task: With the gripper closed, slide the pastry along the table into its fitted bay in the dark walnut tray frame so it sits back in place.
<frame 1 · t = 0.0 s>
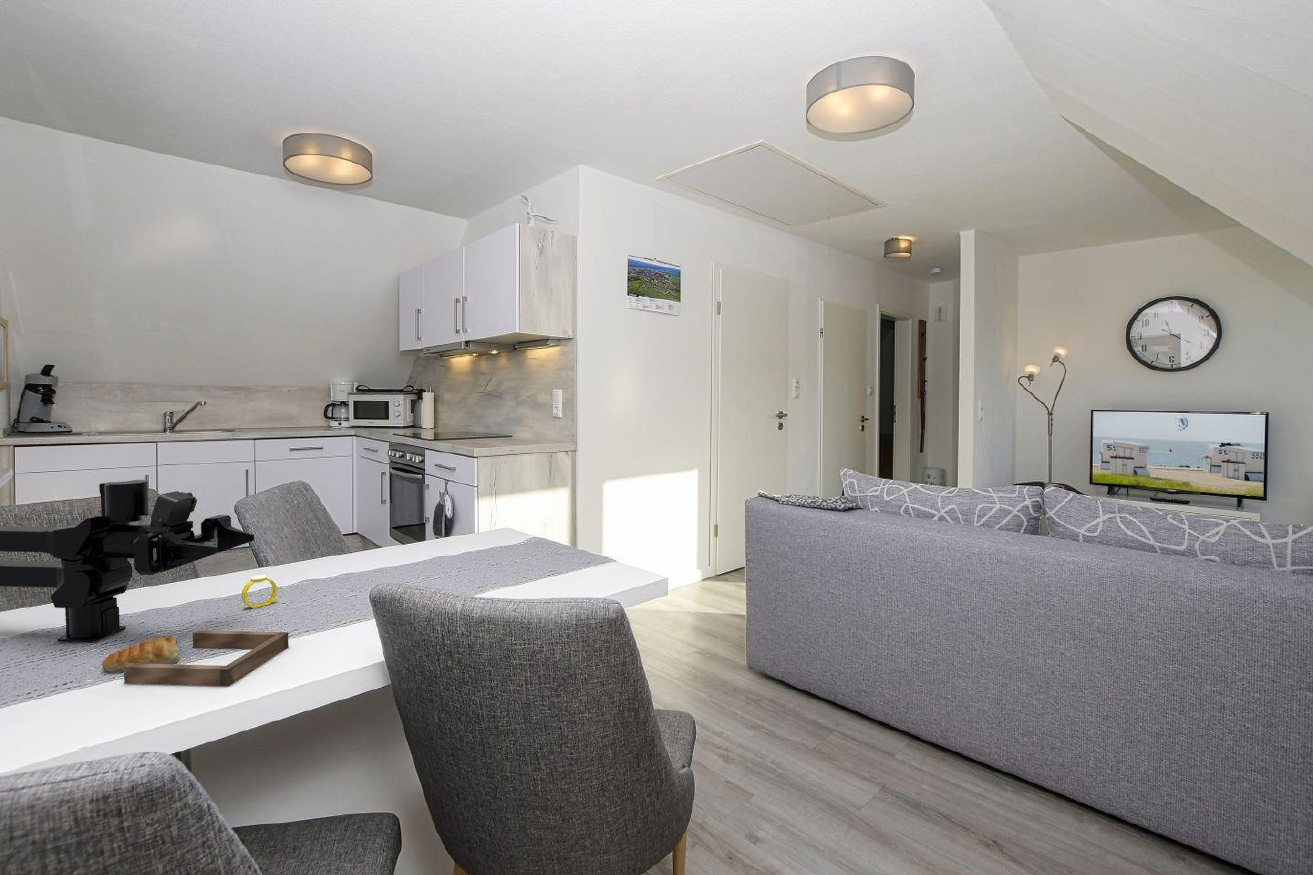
hand: (236, 543, 107), 17 cm above the table, tool horizontal, fingers open, 9 cm apart
pastry: (148, 665, 98), on the table
bay: (214, 664, 98), on the table
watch: (259, 606, 125), on the table
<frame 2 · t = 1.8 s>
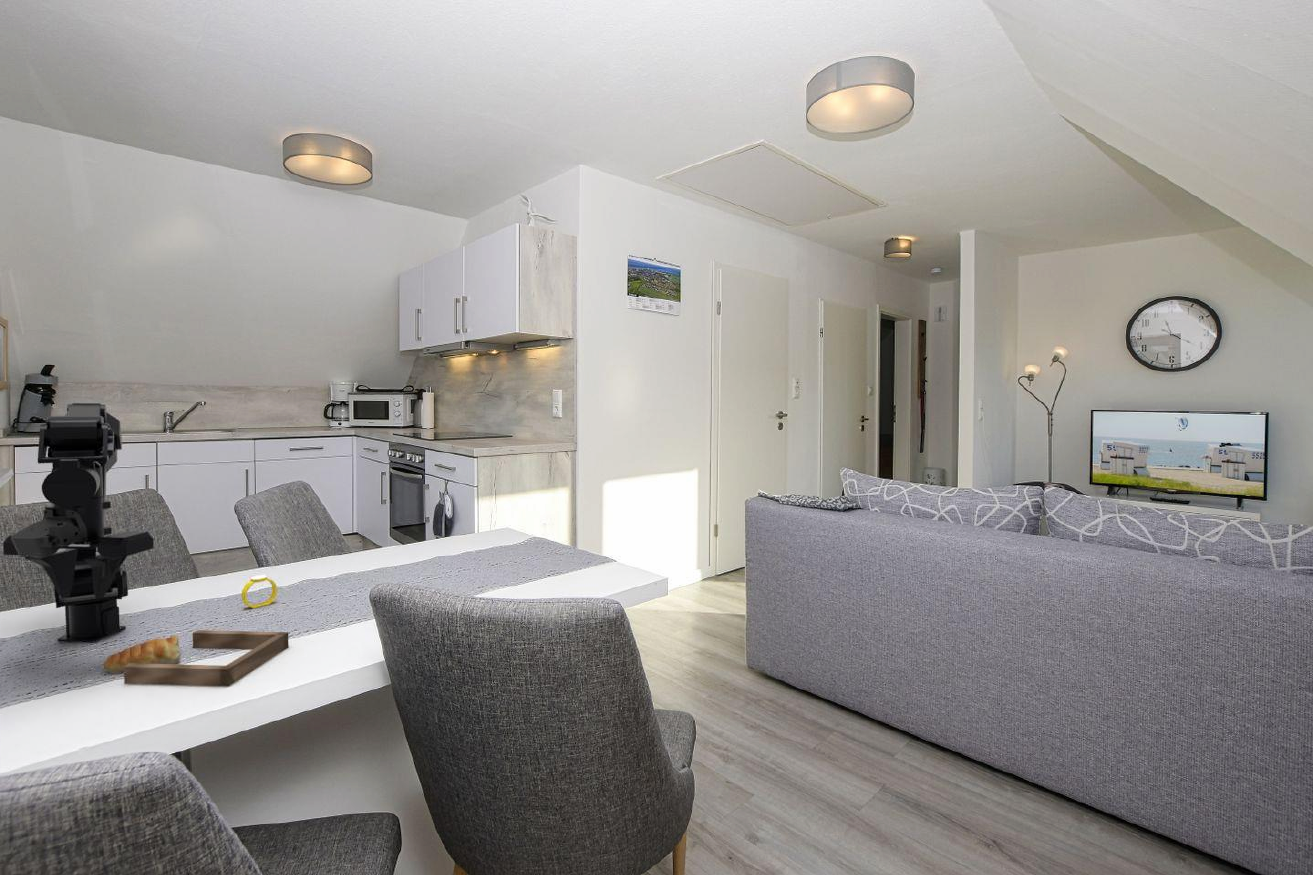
hand: (82, 597, 98), 10 cm above the table, tool pointing down, fingers open, 5 cm apart
nothing on the table moved.
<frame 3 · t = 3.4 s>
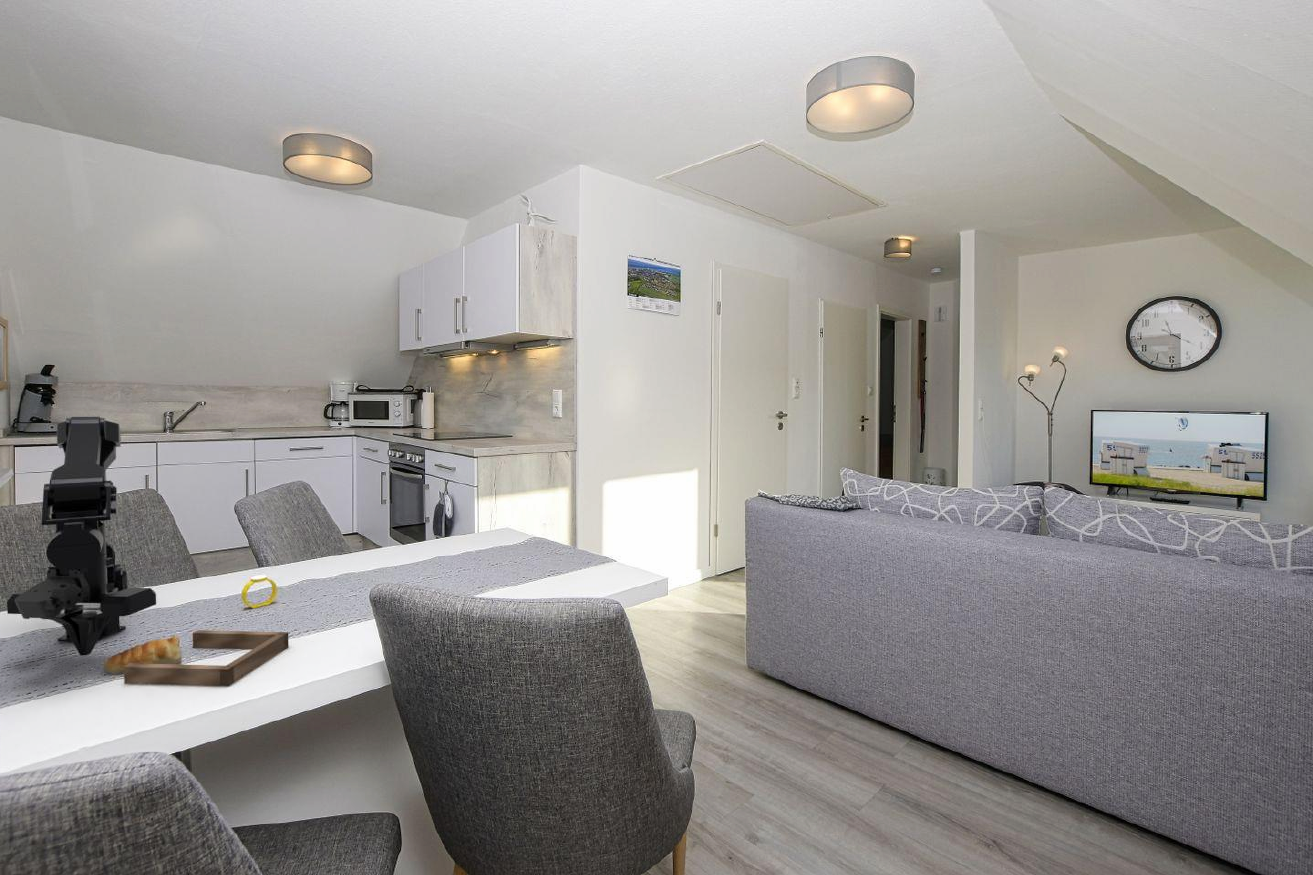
hand: (85, 654, 99), 1 cm above the table, tool pointing down, fingers closed
nothing on the table moved.
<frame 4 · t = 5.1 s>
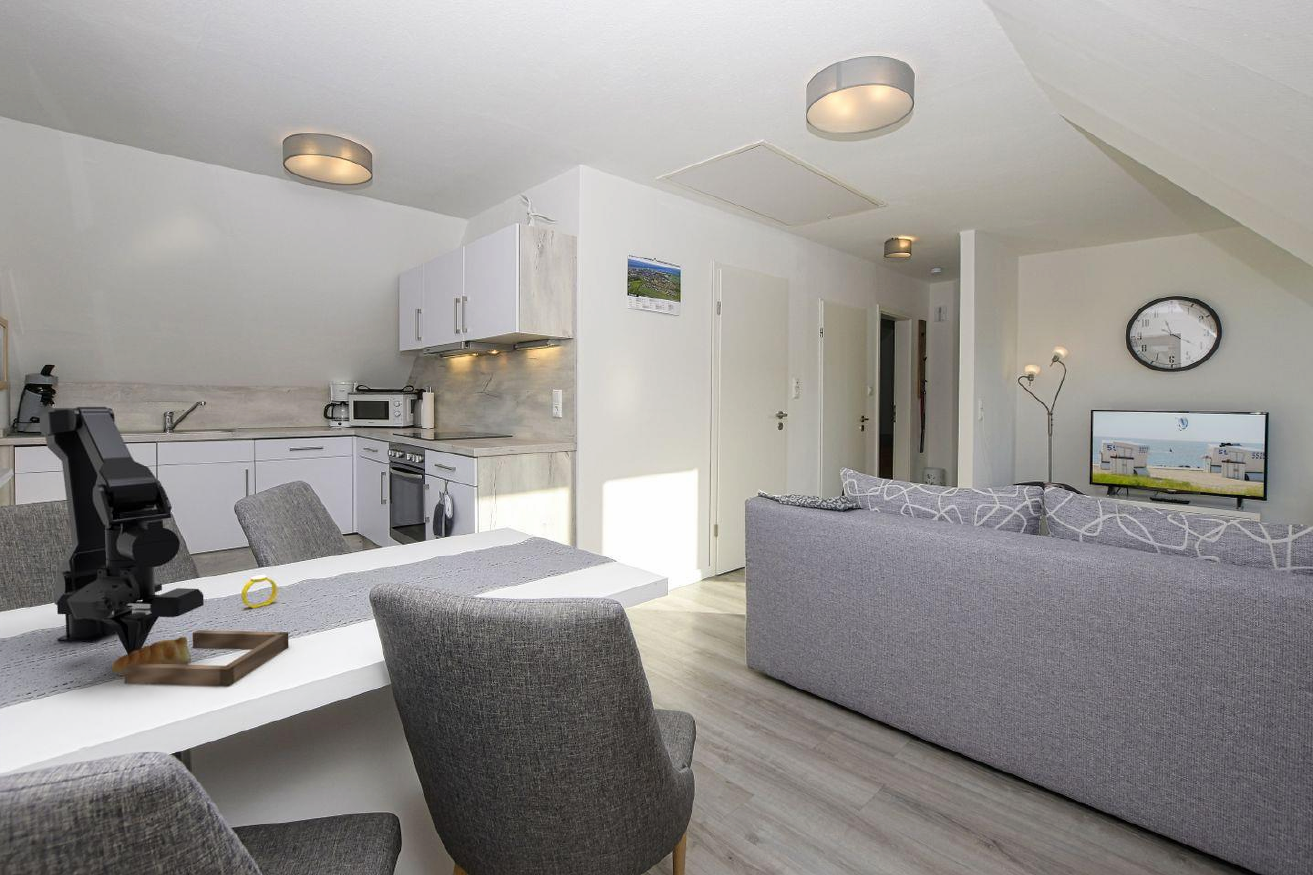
hand: (133, 655, 98), 1 cm above the table, tool pointing down, fingers closed
pastry: (158, 668, 97), on the table
everything else where it was.
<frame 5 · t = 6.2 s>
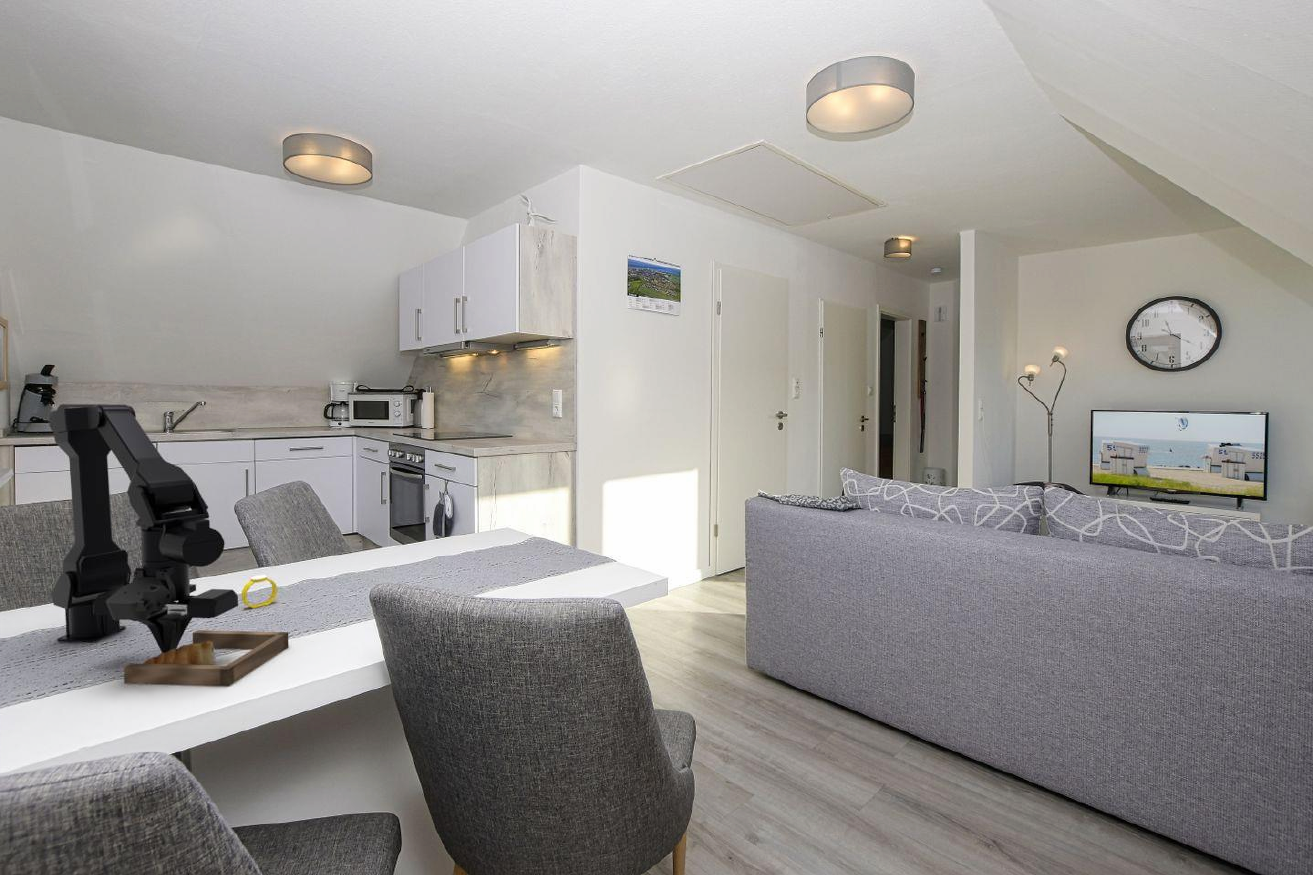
hand: (168, 655, 99), 1 cm above the table, tool pointing down, fingers closed
pastry: (184, 671, 96), on the table, touching bay, gripper
everything else where it was.
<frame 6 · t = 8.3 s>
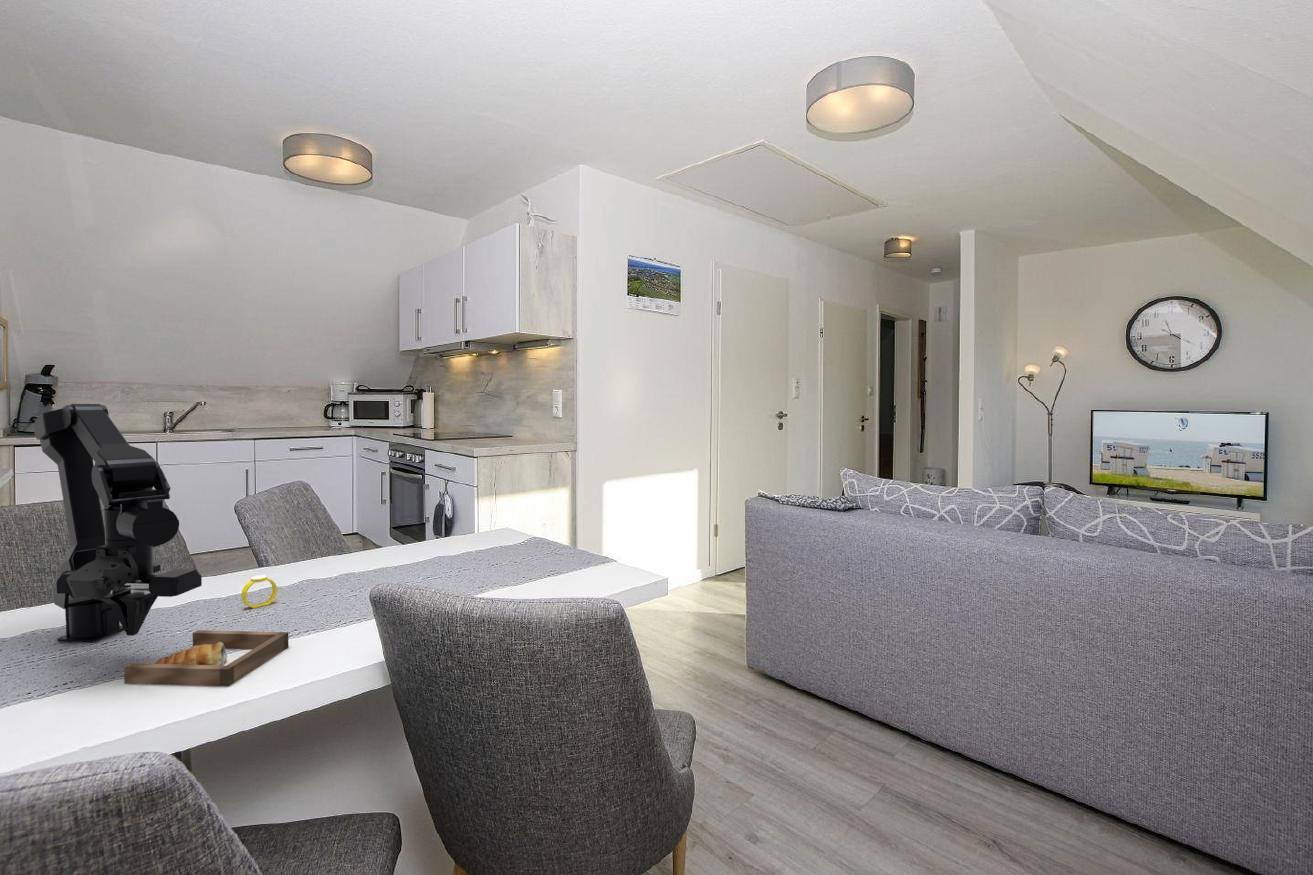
hand: (132, 634, 99), 4 cm above the table, tool pointing down, fingers closed
pastry: (194, 672, 96), on the table
everything else where it was.
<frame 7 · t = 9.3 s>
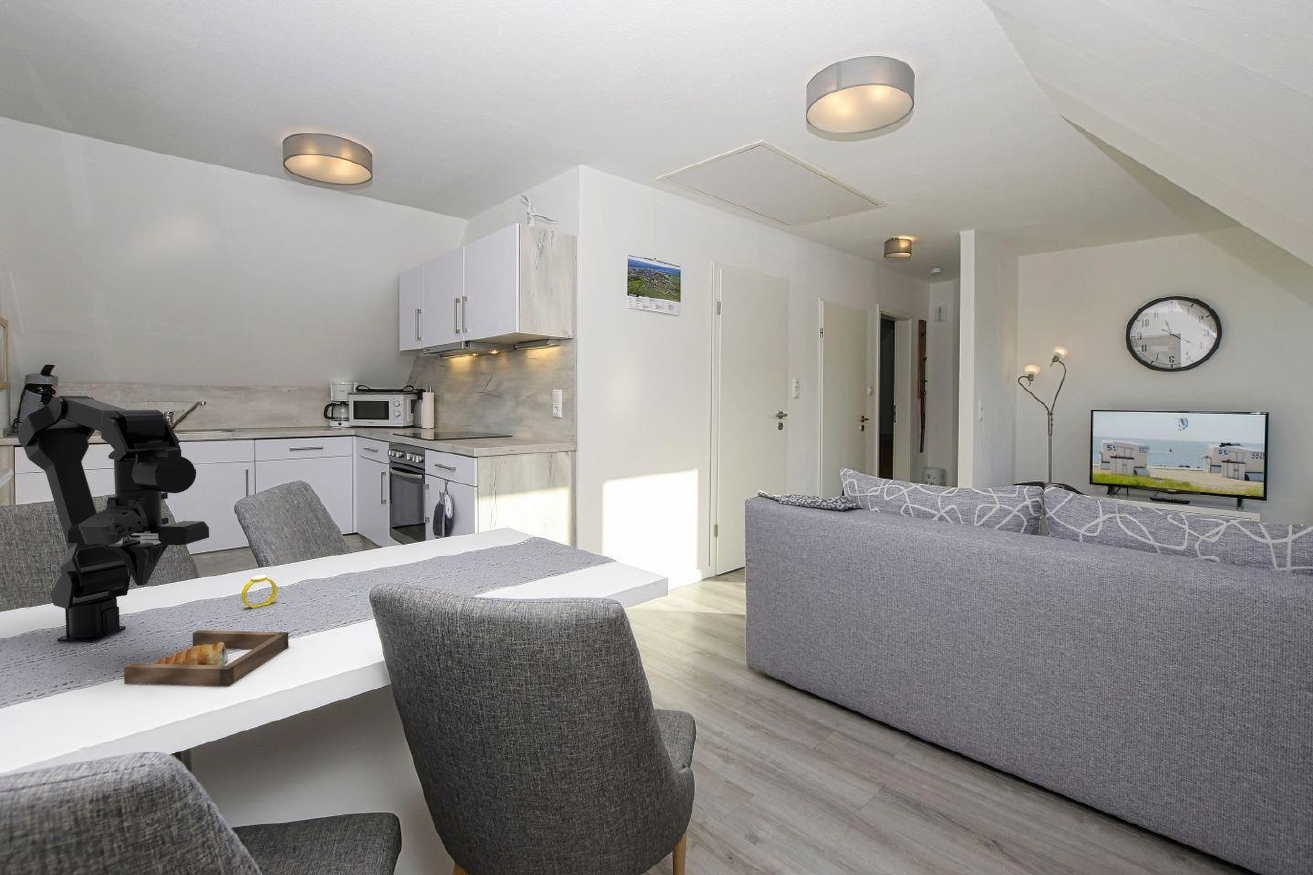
hand: (141, 584, 102), 11 cm above the table, tool pointing down, fingers closed
nothing on the table moved.
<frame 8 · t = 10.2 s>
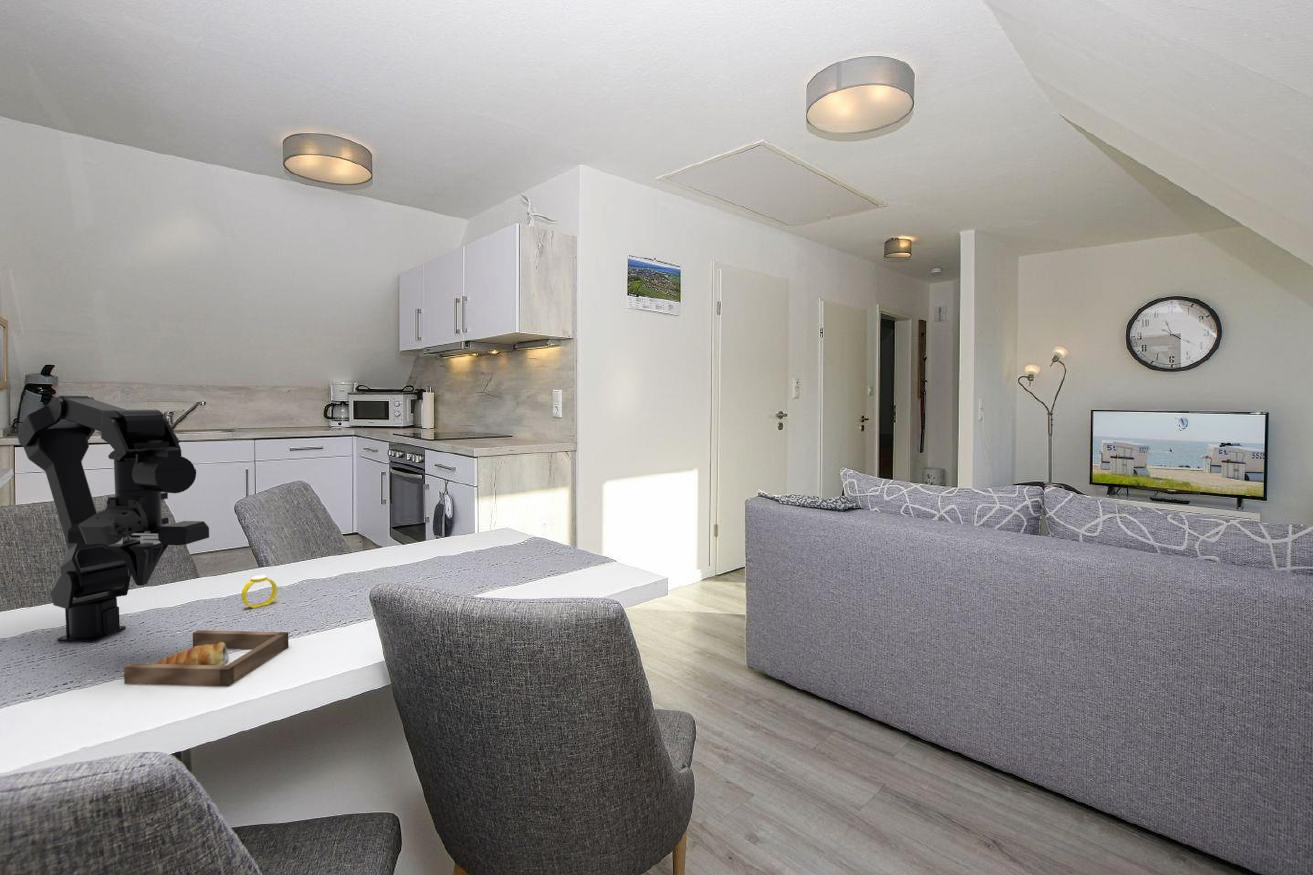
hand: (141, 584, 102), 11 cm above the table, tool pointing down, fingers closed
nothing on the table moved.
at the end: pastry 2.2 cm off-centre on the bay, point -0.5 cm above the bay's base; pastry tilted 0° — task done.
